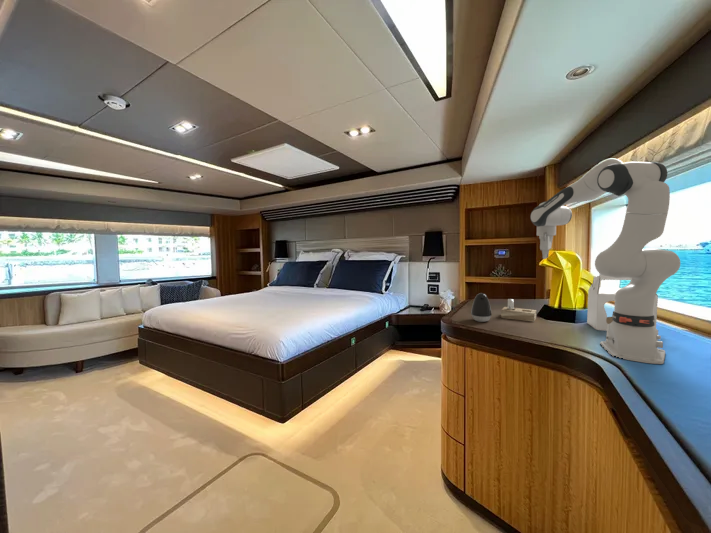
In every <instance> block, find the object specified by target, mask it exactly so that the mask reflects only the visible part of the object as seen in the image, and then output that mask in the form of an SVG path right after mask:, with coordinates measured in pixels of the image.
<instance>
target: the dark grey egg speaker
mask: <svg viewBox="0 0 711 533" xmlns="http://www.w3.org/2000/svg"><path fill="white" fill-rule="evenodd" d="M490 303H491V302H490V300H489V298H488V296H487V294H486V293H483V292H480V293H478V294H476V296H475V297H474V298H473V303H472V304H471V309H470V310H471V312H470V313H471V317H472V319H473V320H474V321H476V322H479V323H485V322H489V321H490V319H491V317H492V315H493V314H492V308H491V304H490Z"/></svg>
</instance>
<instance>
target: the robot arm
mask: <svg viewBox="0 0 711 533" xmlns="http://www.w3.org/2000/svg"><path fill="white" fill-rule="evenodd" d="M667 177H668V169H667V167H666V166H665V165H664V164H662V163H660V162H657V161H656V162H655V161H626V162H623V161H622V160H620V159H618V158H613V157H612V158H611V157H610V158H606V159H603V160H602V161H600V162H599V163H598V164H596V165H594V166H593V167H591V169H590V170H589V171H587V172H586V173H585V174H584V175H583V176H582V177H580V178H579V179H578V180H576V181H574V182H573V183H571V184H570V185H568V186H566V187H565V188H562V189H561V190H560V191H558V192H557V193H556V194H554V195H553V196H552V197H550V198H549V199H548V200H546V201H543V202H541V203H539V205H538V206H536V207H534V208H533V210H531V213H530V217H529V218H530V222H531V223H532V224H533V225H534V226H536V236H537V237H538V236H539V237H538V239H539V243H540V244H539V249H540V250H539V251H541V253H542V259H544V260H545V259H547V258H549V253H550V250H551V249H552V245H553V239H554V236H557V226H565V225H567V224H569V223H570V222H571V221H572V217H573V212H572V210H571V208H570V207H569V206H566V205H569V204H573V203H575V204H576V203H581V202H588V201H593V200H595V199H597V198H600V197H601V196H603V195H605V194H606V193H609V194H613V195H615V196H617V197H621V196H623V195H625V196H626V198H627V200H628V201H627V206H626V210H625V216H624V220H623V225H622V227H621V228H622V229H621V231H620V233H619V236H618V237H617V238H616V240H615V241H613V243H612V244H611V245H610V246H609V247H607V248H606V249H604V250H603V251H601V252H599V254H598V255H597V256H596V257H595V260H594V266H595V269H596V271H597V273H598V274H599V275H600V274H601V275H604V276H609V277H615V278H632V279H631V280H629V283H628V284H626V285H625V286H623V287H620V288H621V289H619V290H618V291H617V292H616V294H615V301H614V310H613V311H612V314H611V317H612V320H613V322H611V323H610V324H608V325H607V331H606V335H605V336H606V337H605V338H606V339H605V340H603V341H600V343H599V345H600V344H601V345H602V346H601V345H600V346H601V347H602V348H603V347H604V348H603V350H605V351H606V350H607V351H608V352H607V351H606V352H607V353H608V355H610V354H611V355H612V356H611V355H610V356H611V357H614V356H616V357H615V358H617V357H619V358H618V359H621V358H623V359H622V360H626V361H627V360H628V361H631V362H639V363H646V364H655V365H663V364H665V359H666V350H665V349H663V346H664V341H661V339H662V335H659V330H658V328H657V327H656V328H655V327H654V322H655V319H654V315H653V308H654V300H655V295H656V294H657V292H658V290H659V288H660V287H661V285H662V284H663V283H664V282H665V281H666V280H667V279H669V278H670V277H671V276H674V275H675V274H677V272H678V271H679V270H680V267H681V258H680V257H679V255H678V254H677V253H676V252H675V251H672V250H667V249H660V248H644V247H646V246H647V245H648V244H649V243H650V242H652V241H654V240H656V239H658V238H660V237H661V236H662V235H663V233H664V231H665V226H666V221H667V218H668V213H669V207H670V198H671V197H670V185H668V184H667V183H666V180H667Z"/></svg>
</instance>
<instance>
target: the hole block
mask: <svg viewBox="0 0 711 533" xmlns="http://www.w3.org/2000/svg"><path fill="white" fill-rule="evenodd" d="M500 315H501V316H500V318H502V319H507V320H516V321H526V322H535V321H536V319H537V309H532V308H531V309H529V308H519V307H514V310H508V306H504V307H502V308H501V310H500Z"/></svg>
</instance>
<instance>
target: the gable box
mask: <svg viewBox="0 0 711 533" xmlns="http://www.w3.org/2000/svg"><path fill="white" fill-rule="evenodd" d="M631 279H632V278H615V277H609V276H604V275H601V274H600V273H599V275H597V276H593V280H592V283H591V285H590V287H589V288H588V291H587V292H588V293H587V315H586V317H587V318H586V320H587V321H586V323H587V324H588V325H589V326H591V327H592V328H593V329H595V330H596V331H605V332H607V325H608V324H610V323H611V322H613V320H612V316H608V314H607V311H606V309H605V304H606V303H608V302H615V294H616V292H617V291H618V290H619V289H621V288H622V287H602V286H601V282H602V281H605V280H607V281H609V280H611V281H614V280H615V281H631ZM658 300H659V296H658V293H656V295H655V300H654V308H653V315H654V319H655V322H654V327H655V328H656V329H657V319H658V318H657V316H658Z"/></svg>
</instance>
